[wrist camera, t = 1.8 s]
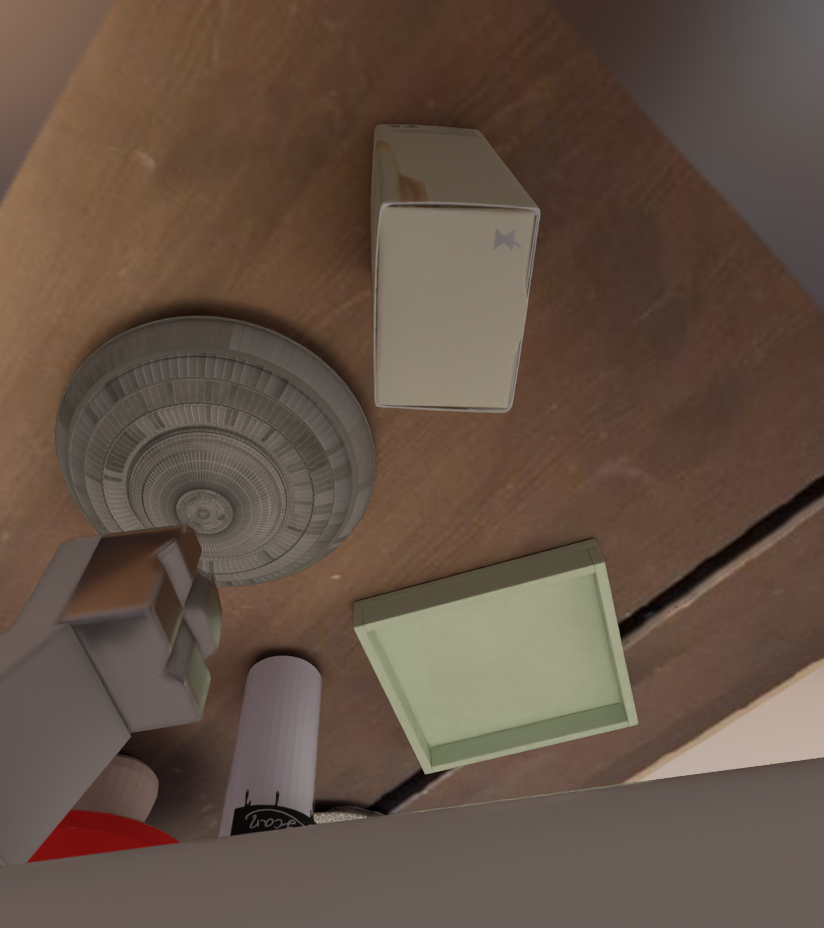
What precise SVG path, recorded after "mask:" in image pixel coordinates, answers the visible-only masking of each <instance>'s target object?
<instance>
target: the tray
mask: <svg viewBox="0 0 824 928" xmlns="http://www.w3.org/2000/svg"><path fill="white" fill-rule="evenodd" d="M353 628H354V630H355V632H356V634H357V636H358V639H359V641H360V643H361V645H362V647H363V649H364V651H365V653H366V655H367V657H368V659H369V661H370V663H371V665H372V667H373V669H374V671H375V673H376V675H377V677H378V679H379V681H380V683H381V685H382V687H383V689H384V691H385V693H386V696H387V698H388V700H389V702H390V704H391V706H392V708H393V710H394V712H395V714H396V716H397V718H398V720H399V722H400V724H401V726H402V728H403V730H404V732H405V734H406V736H407V738H408V740H409V742H410V744H411V746H412V748H413V750H414V752H415V755H416V757H417V759H418V761H419V763H420V765H421V767H422V769H423V771H424V773H425V774H429V773H433V771H434V772H437V771H442V770H446V769H450V768H454V767H459V766H463V765H467V764H471V763H476V762H480V761H484V760H488V759H493V758H497V757H501V756H506V755H510V754H514V753H518V752H523V751H527V750H531V749H535V748H540V747H544V746H548V745H553V744H557V743H561V742H565V741H570V740H574V739H578V738H582V737H587V736H591V735H595V734H599V733H604V732H608V731H612V730H617V729H621V728H625V727H629V726H634V725H638V720H637V715H636V710H635V705H634V700H633V696H632V691H631V686H630V681H629V676H628V671H627V667H626V662H625V657H624V652H623V647H622V643H621V638H620V633H619V628H618V623H617V619H616V614H615V609H614V604H613V599H612V594H611V590H610V585H609V580H608V575H607V570H606V566H605V562H604V559H603V557H602V555H601V552H600V550H599V548H598V546H597V543H596V541H595V539H590V540H586V541H582V542H579V543H575V544H571V545H567V546H564V547H560V548H556V549H552V550H548V551H545V552H541V553H537V554H533V555H530V556H526V557H522V558H518V559H515V560H511V561H507V562H503V563H500V564H496V565H492V566H488V567H485V568H481V569H477V570H473V571H470V572H466V573H462V574H458V575H454V576H451V577H447V578H443V579H439V580H436V581H432V582H428V583H424V584H421V585H417V586H413V587H409V588H406V589H402V590H398V591H394V592H391V593H387V594H383V595H379V596H376V597H372V598H368V599H364V600H360V601H357V602H354V621H353Z"/></svg>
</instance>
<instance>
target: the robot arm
mask: <svg viewBox="0 0 824 928" xmlns="http://www.w3.org/2000/svg"><path fill="white" fill-rule="evenodd" d="M201 552H202V548H201V546H200V543H199V541H198V538H197V536H196V534H195V531H194V529H193V528H191V527H190V526H188V525H187V524H180V525H172V526H164V527H156V528H148V529H140V530H132V531H124V532H116V533H109V534H100V535H93V536H86V537H80V538H73V539H70V540H67V541H65V542H63V543H61V545H60V546H59V548H58V550H57V551H56V553H55V555H54V556H53V558H52V560H51V562H50V563H49V565H48V567H47V568H46V570H45V572H44V574H43V575H42V577H41V579H40V580H39V582H38V584H37V586H36V587H35V589H34V591H33V592H32V594H31V596H30V598H29V599H28V601H27V603H26V604H25V606H24V608H23V610H22V611H21V613H20V615H19V616H18V618H17V620H16V622H15V623H14V625H13V627H12V628H11V630H10V631H6V632H0V928H824V758H816V759H809V760H801V761H793V762H785V763H778V764H770V765H763V766H755V767H749V768H740V769H733V770H725V771H718V772H710V773H702V774H695V775H687V776H680V777H673V778H664V779H657V780H649V781H642V782H634V783H627V784H619V785H612V786H604V787H596V788H589V789H581V790H574V791H566V792H559V793H551V794H544V795H536V796H528V797H521V798H513V799H506V800H498V801H491V802H483V803H476V804H468V805H460V806H453V807H445V808H438V809H430V810H423V811H415V812H408V813H400V814H392V815H385V816H377V817H370V818H362V819H355V820H347V821H340V822H332V823H325V824H317V825H309V826H302V827H294V828H287V829H279V830H272V831H264V832H257V833H249V834H241V835H234V836H226V837H219V838H211V839H204V840H196V841H189V842H181V843H173V844H166V845H158V846H151V847H143V848H136V849H128V850H121V851H113V852H105V853H98V854H90V855H83V856H75V857H68V858H60V859H53V860H45V861H38V862H30V863H27V861H28V860H29V859H30V858H31V857H32V855H33V854H34V853H35V852H36V851H37V849H38V848H39V847H40V846H41V845H42V843H43V842H44V841H45V840H46V839H47V837H48V836H49V835H50V834H51V833H52V831H53V830H54V829H55V828H56V827H57V825H58V824H59V823H60V822H61V820H62V819H63V818H64V817H65V816H66V814H67V813H68V812H69V811H70V810H71V808H72V807H73V806H74V805H75V804H76V802H77V801H78V800H79V799H80V798H81V796H82V795H83V794H84V793H85V792H86V790H87V789H88V788H89V787H90V786H91V784H92V783H93V782H94V781H95V780H96V778H97V777H98V776H99V775H100V774H101V772H102V771H103V770H104V769H105V768H106V766H107V765H108V764H109V763H110V762H111V760H112V759H113V758H114V757H115V756H116V754H117V753H118V752H119V751H120V750H121V748H122V747H123V746H124V745H125V744H126V742H127V741H128V740H129V739H130V738H131V735H130V733H133V732H139V731H145V730H151V729H158V728H164V727H170V726H176V725H182V724H188V723H194V722H200V721H201V718H202V714H203V709H204V705H205V701H206V697H207V693H208V689H209V685H210V680H211V675H210V672H209V670H208V668H207V665H206V663H205V661H206V660H207V659H208V658H209V657H210V656H211V655H212V654H213V653H214V652H215V651H216V650H217V649H218V646H219V641H220V637H221V632H222V609H221V604H220V599H219V594H218V590H217V587H216V585H215V582H214V579H213V577H212V576H211V575H209V574H208V573H207V572H205V571H204V570H202V569H201V568H199V567H198V563H199V559H200V556H201Z"/></svg>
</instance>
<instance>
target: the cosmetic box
mask: <svg viewBox="0 0 824 928" xmlns="http://www.w3.org/2000/svg"><path fill="white" fill-rule="evenodd" d="M539 220H540V209H539V208H538V206H537V205H536V204H535V202H534V201H533V200H532V199H531V197H530V196H529V195H528V194H527V192H526V191H525V190H524V188H523V187H522V186H521V185H520V183H519V181H518V180H517V179H516V178H515V177H514V175H513V174H512V173H511V171H510V170H509V169H508V168H507V166H506V165H505V164H504V162H503V161H502V160H501V158H500V157H499V156H498V155H497V153H496V152H495V151H494V149H493V148H492V147H491V145H490V144H489V143H488V142H487V140H486V139H485V137H484V136H483V135H482V134H481V132H480V131H479V130H476V129H467V128H456V127H443V126H430V125H411V124H378V125H377V126H376V127H375V131H374V145H373V161H372V184H371V291H372V321H373V368H374V402H375V405H376V406H377V407H382V408H403V409H420V410H433V411H459V412H485V413H505V412H507V411H509V410H510V409H511V407H512V405H513V398H514V392H515V386H516V380H517V373H518V366H519V360H520V354H521V345H522V340H523V334H524V327H525V320H526V314H527V306H528V298H529V290H530V283H531V276H532V270H533V263H534V255H535V249H536V241H537V233H538V226H539Z"/></svg>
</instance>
